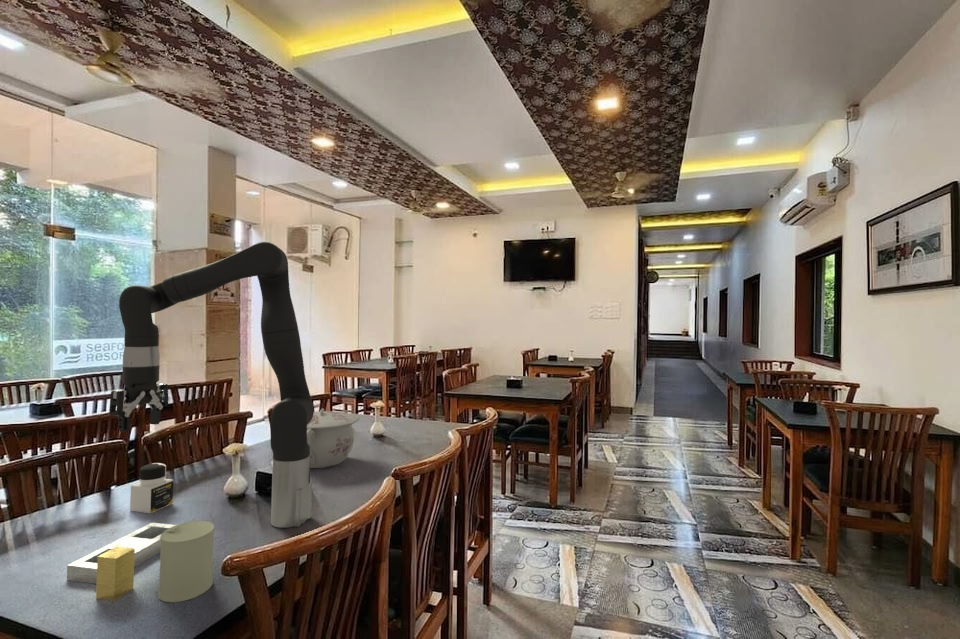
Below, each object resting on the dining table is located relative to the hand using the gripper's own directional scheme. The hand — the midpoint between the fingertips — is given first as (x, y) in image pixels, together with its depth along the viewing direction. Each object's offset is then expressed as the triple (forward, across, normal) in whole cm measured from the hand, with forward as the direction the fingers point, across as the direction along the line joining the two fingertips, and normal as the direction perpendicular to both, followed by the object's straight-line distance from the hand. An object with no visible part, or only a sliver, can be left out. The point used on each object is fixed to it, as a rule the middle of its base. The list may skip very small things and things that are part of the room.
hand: (140, 427), depth 115 cm
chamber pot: (+26, +59, -17) cm, 67 cm away
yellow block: (+26, -24, -20) cm, 40 cm away
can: (+26, -19, -32) cm, 46 cm away
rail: (+26, -12, -11) cm, 30 cm away
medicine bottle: (+26, +12, +8) cm, 29 cm away
